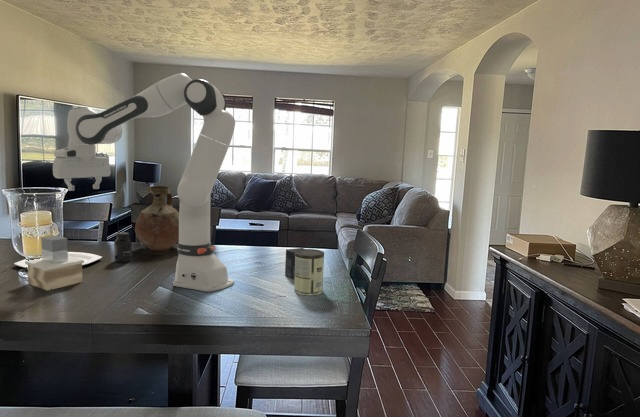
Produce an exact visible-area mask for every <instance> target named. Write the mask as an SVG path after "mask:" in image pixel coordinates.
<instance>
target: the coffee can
mask: <svg viewBox="0 0 640 417" xmlns="http://www.w3.org/2000/svg"><path fill="white" fill-rule="evenodd" d="M324 258H325V252H324V251H323V250H320V249H312V248H304V249H301V250H297V251H295V278H294V287H293V288H294V289H293V291H294V293H296V294H298V295H302V296H318V295H320V294H322V293H323V291H324V290H323V287H324V263H325V262H324V260H325V259H324Z"/></svg>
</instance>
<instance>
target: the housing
mask: <svg viewBox="0 0 640 417" xmlns="http://www.w3.org/2000/svg"><path fill="white" fill-rule="evenodd" d="M40 239H41V240H40V241H41V255H42V260H43V261H46V262H49V263H52V264H54V263H59V262H65V261H68V252H69V251H68V250H69V249H68V238H67V237H64V236H59V235H52V236H45V237H44V236H43V237H41V238H40Z"/></svg>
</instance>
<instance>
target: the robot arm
mask: <svg viewBox="0 0 640 417" xmlns="http://www.w3.org/2000/svg"><path fill="white" fill-rule="evenodd" d="M185 105H188V106H189V107H190V108H191V109H192V110H193V111H194V112H196V114H198V115H199V116H200V117H202V118H203V124H202V128H201V129H200V132H199V134H198V137H197V139H196V143H195V145H194V147H193V150H192V152H191V155H190V157H189V160H188V162H187V164H186V166H185V169H184V171H183V174H182V176H181V179H180V181H179V183H178V186H177V189H176V193H177V197H178V199H179V211H178V213H179V241H178V242H177V246H176V249H177V251H176V252H177V254H178V256H177V261H176V266H175V275H174V280H173V282H172V286H174V287H179V288H184V289H189V290H196V291H201V292H214V291H220V290H222V289H226V288H228V287H231V286H232V285H234V284H235V280H234V279H232V278H230V277H229V276H228V275H229V274H228V269H227V266H226V265H225V264H224V263H223V262H222V261H221V260H220V259H219V257H217V255H216V254H215V252H214V250H215V248H216V247H217V246H216V245H215V246H214V245H212V242H211V193H212V191H213V188H214V186H215V183H216V180H217V178H218V175H219V173H220V170H221V168H222V165H223V163H224V160H225V157H226V155H227V152H228V150H229V148H230V147H229V146H230V145H231V141H232V139H233V136H234V132H235V126H236V120H235V117H234V116H233V115H232V114H231V113H230V112H228V111H226V110H227V100H226V98H225V96H224V95H223V93H222V92H221V91H220V90H219V89H218V88H217V87H216V86H215V85H214V84H212V83H210V82H209V81H208V80H205V79H200V78H196V79H195V78H194V79H192V78H191V77H190V76H189V75H187V74H185V73H183V72H181V73H176V74H174V75H169V76H168V77H166V78H163V79H161V80H159V81H157V82H156V83H153V84H152V85H150V86H149V87H147V88H145V89H143V90H142V91H141V92H139V93H137V94H135V95H134V96H132V97H130V98H128V99H127V100H123V101H121V102H119V103H118V104H115V105H114V106H112V107H109V108H108V109H106V110H104V111H102V112H96V111H95V110H94V109H93V108H91V107H87V106H86V107H85V106H84V107H83V106H82V107H81V106H79V107H78V106H77V107H74V108H71V109H70V110H69V111H68V112H67V113H68V114H67V122H66V123H67V124H66V125H67V126H66V127H67V128H66V129H67V134H68V142H67V147H64V148H61V149H57V150H55V151H54V153H53V155H54V159H53V162H52V175H53V177H54V178H55V179H63V181H64V183H65V184H66V186H67V190H68V191H69V192H71V191H73V192H74V191H75V190H76V189H75V187H76V185H73V184H72V183H71V182H72V179H81V178H94V179H95V182H94V184H92V189H93V190H99V189H100V184H101V182H102V180H103V179H102V178H103V177H105V178H106V177H108V178H109V177H110V176H111V174H112V171H111V165H110V156H109V154H107V153H106V152H97V151H96V147H97V146H96V145H97V144H98V145H111V144H115V143H117V142H118V141H119V140H120V139H121V138H122V134H123V130H122V126H121V125H123V124H125V123H128V122H129V121H132V120H134V119H140V118H158V117H159V118H160V117H163V116H165V115H168V114H171V113H173V112H174V111H176V110H178V109H179V108H181V107H183V106H185Z"/></svg>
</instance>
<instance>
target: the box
mask: <svg viewBox="0 0 640 417" xmlns="http://www.w3.org/2000/svg"><path fill="white" fill-rule="evenodd" d="M301 249H305V248H304V247H299V248H289V249H288V248H287V249H285V262H284V263H285V267H284V269H285V270H284V275H285V276H287V278H290V279H295V251H297V250H301Z"/></svg>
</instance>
